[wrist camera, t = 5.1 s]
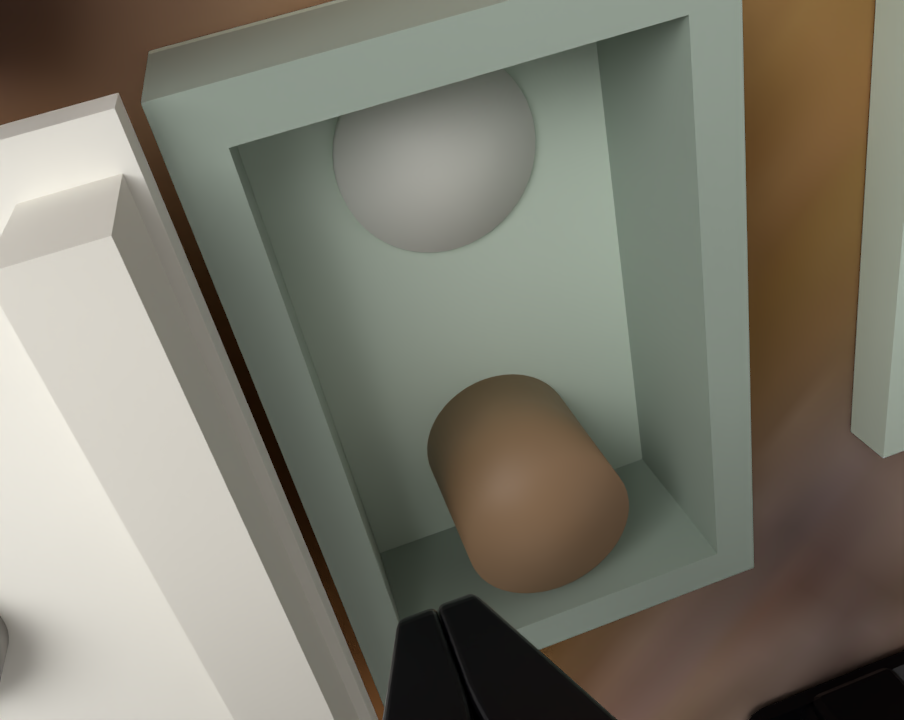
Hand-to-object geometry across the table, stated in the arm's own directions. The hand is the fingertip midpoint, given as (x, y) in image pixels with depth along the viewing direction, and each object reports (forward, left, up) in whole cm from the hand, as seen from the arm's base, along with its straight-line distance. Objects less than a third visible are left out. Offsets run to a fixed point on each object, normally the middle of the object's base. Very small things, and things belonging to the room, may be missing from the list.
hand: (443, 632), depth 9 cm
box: (-1, -3, -9) cm, 9 cm away
